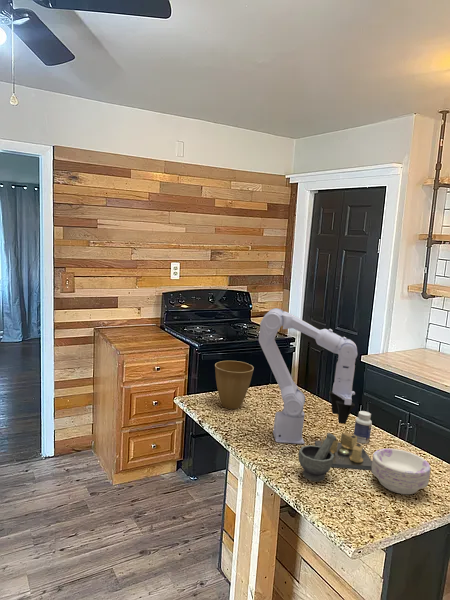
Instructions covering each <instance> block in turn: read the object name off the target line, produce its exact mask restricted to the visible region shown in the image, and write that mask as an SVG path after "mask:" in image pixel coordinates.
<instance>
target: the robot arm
mask: <svg viewBox="0 0 450 600" xmlns="http://www.w3.org/2000/svg"><path fill="white" fill-rule="evenodd" d="M259 324H260V325H259V326H260V327H259V333H258V334H259V335H258V343H259V345H260V347H261V350H262V352H263V354H264V356H265V359H266V360H267V363H268V365H269V367H270V369H271V371H272V374H273V376H274V378H275V380H276V381H275V382H277V384H278V386H279V389H280V394H281V395H280V396H281V398H282V401H283V408H282V410H281V411H276V412H275V415H274V422H273V429H272V433H273V437H274V440H275V442H276V443H283V444H284V443H285V444H295V445H296V444H297V445H300V444H301V445H305V444H306V443H305V440H304V439H303V429H304V423H305V421H304V420H305V411H304V405H305V403H306V395H305V394H304V393H303V392H302V391H301V390H300V389H299V386H298V385H297V384H296V383H295V381H294V380H293V377H292V375H291V373H290V371H289V368H288V367H287V364H286V362H285V360H284V358H283V355H282V354H281V351H280V349H279V347H278V344H277V343H276V336H277V334H278V333H279V330H280V329H281V327H282V330H289V329H293V330H296V331H298V332H300V333H302V334H304V335H306V336H308V337H310V338H312V339H314V340H315V342H316V345H318V346H320V347H321V348H324V349H326V350H327V351H329V352H331V353H333V354H337V355H338V358H337V362H336V365H335V373H334V382H333V385H332V390H330V391H328V394H329V398H330V404H331V405H330V406H331V413H332V415H333V414H334V415H337V420H338V421H337V422H338V423H339V424H344V425H345V424H346V423H347V421H348V419H349V416H350V414H351V413H352V410H353V409H355V406H356V405H355V403H354V402H352V401H353V399H352V396H355V395H356V392H355V391H354V390H353V384H354V377H355V371H356V370H355V368H356V365H355V364H356V359H357V357H358V355H359V354H358V347H357V345H356V343H355V342H354V341H353V340H352V339H350V338H347V337H345V336H341V335H339V334H338V333H335V332H333V331H334V330H333V329H331V328H329V329H327V328H323V329H319V328H317V327H315V326H313V325H312V324H310V323H308V322H306V320H305V321H304V320H303V319H301V318H299V317H298V316H295V314H294V315H293V314H292V313H290V312H288V311H285V310H284V311H283V310H282V309H281V308H277V307H275V308H271V309H270V310H269V311H268V312H267V313H265V314H264V315H263V317H262V319H261V321H260V323H259Z"/></svg>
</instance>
